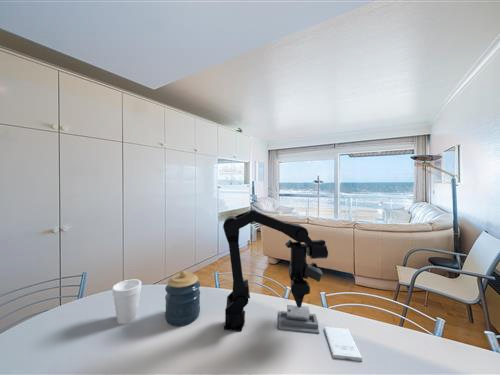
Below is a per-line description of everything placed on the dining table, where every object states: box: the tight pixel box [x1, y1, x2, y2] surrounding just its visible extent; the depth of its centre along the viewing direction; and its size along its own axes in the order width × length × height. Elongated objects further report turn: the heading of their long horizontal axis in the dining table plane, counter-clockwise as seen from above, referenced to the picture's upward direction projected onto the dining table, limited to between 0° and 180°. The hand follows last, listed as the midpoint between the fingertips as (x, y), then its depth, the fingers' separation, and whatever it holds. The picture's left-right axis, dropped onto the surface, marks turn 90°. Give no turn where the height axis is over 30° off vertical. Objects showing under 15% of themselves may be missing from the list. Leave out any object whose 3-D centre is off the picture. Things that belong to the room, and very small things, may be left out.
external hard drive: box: [323, 326, 363, 362], centre depth 68 cm, size 2×8×12 cm
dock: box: [278, 310, 320, 334], centre depth 78 cm, size 14×10×2 cm
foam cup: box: [111, 278, 142, 325], centre depth 79 cm, size 10×9×13 cm
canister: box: [164, 270, 201, 327], centre depth 81 cm, size 13×13×18 cm
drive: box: [286, 304, 310, 322], centre depth 78 cm, size 8×2×5 cm, turn 82°
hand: (298, 300), depth 78 cm, fingers open, 9 cm apart
